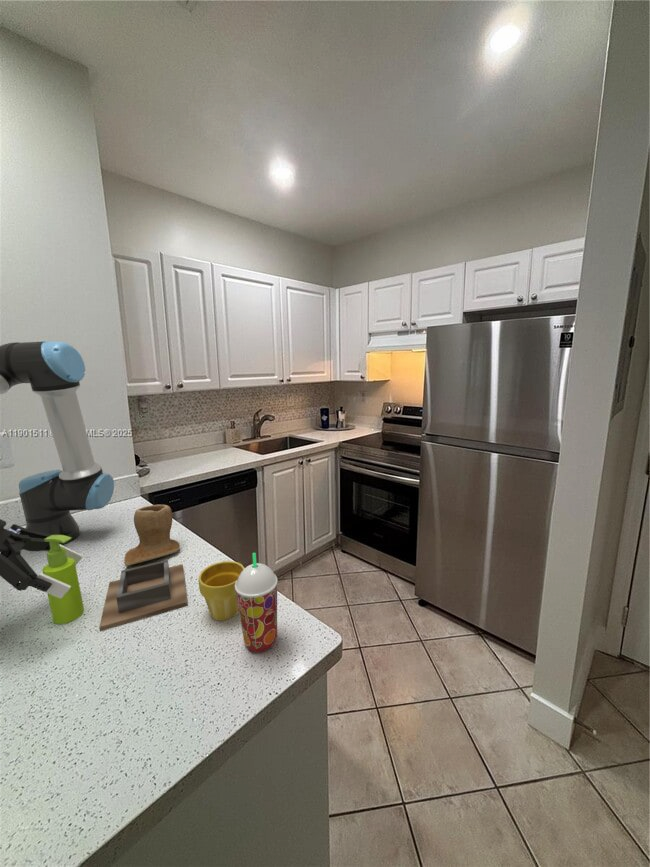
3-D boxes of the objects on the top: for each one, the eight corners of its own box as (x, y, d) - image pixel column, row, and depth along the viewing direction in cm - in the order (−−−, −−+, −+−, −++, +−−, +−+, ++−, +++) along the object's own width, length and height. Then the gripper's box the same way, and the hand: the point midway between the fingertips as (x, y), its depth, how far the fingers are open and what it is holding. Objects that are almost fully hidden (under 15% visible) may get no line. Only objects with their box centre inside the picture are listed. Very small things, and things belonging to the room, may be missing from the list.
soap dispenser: (72, 626, 79) (55, 544, 75) (46, 622, 80) (29, 542, 76) (93, 608, 84) (79, 531, 80) (69, 605, 86) (54, 529, 82)
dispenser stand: (110, 585, 93) (107, 568, 92) (183, 567, 100) (181, 551, 99) (99, 631, 77) (96, 610, 76) (187, 605, 84) (185, 586, 83)
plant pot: (256, 600, 85) (253, 564, 83) (232, 631, 76) (228, 590, 74) (220, 592, 89) (216, 557, 87) (192, 621, 79) (187, 582, 77)
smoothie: (243, 628, 76) (235, 544, 72) (282, 625, 77) (276, 541, 73) (237, 660, 68) (228, 567, 64) (280, 656, 69) (274, 563, 65)
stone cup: (175, 539, 117) (170, 496, 114) (182, 555, 107) (176, 509, 104) (123, 553, 109) (116, 508, 106) (125, 572, 99) (117, 522, 96)
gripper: (-15, 520, 82) (73, 562, 91) (-80, 577, 60) (45, 624, 69) (9, 495, 83) (94, 538, 93) (-46, 541, 61) (72, 592, 70)
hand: (73, 575), depth 81 cm, fingers open, 13 cm apart
